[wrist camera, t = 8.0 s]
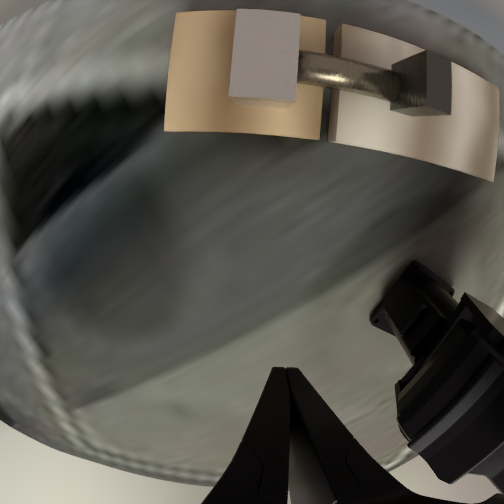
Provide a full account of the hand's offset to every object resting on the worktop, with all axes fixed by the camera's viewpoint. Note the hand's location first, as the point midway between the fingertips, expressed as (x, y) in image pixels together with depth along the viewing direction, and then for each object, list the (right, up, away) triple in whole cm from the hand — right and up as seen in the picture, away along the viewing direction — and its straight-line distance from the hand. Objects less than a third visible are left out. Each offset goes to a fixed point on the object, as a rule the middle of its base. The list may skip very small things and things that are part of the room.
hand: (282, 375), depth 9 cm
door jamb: (+6, +15, +7) cm, 17 cm away
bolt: (+4, +14, +5) cm, 15 cm away
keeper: (0, +14, +5) cm, 15 cm away
